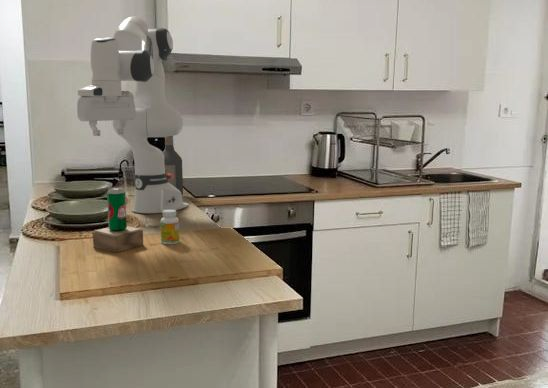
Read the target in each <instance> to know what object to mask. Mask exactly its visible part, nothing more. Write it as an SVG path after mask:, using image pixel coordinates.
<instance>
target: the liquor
mask: <svg viewBox="0 0 548 388" xmlns="http://www.w3.org/2000/svg"><path fill="white" fill-rule="evenodd" d="M164 145H165V146H164V150H163V151H162V152H163V154H164V164H165V173H166V174H168V173H169V174H172V176H173V178H172V179H170V178H169V179H168V181H169V183H170V184H171V185H173V186H174V187H175V188H177V189H178V190H179V191H180V192H181V194H182V196H183V195H184V185H183V183H184V182H183V181H184V180H183V179H184V178H183V159H182V157H181V155H180V154H179V153H178V152H177V151H176V150H175V147H174V146H175V145H174V136H169V137H164Z"/></svg>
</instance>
